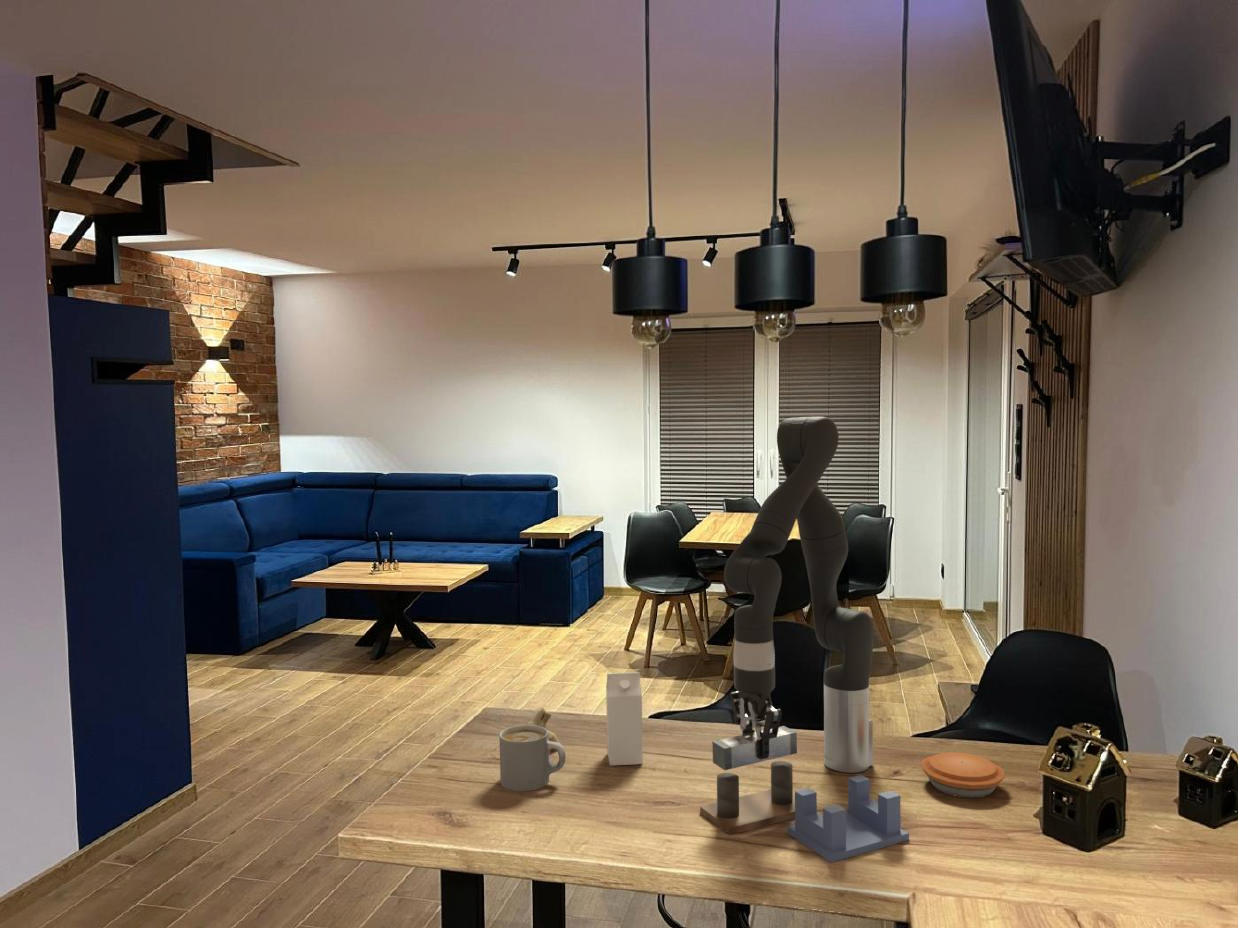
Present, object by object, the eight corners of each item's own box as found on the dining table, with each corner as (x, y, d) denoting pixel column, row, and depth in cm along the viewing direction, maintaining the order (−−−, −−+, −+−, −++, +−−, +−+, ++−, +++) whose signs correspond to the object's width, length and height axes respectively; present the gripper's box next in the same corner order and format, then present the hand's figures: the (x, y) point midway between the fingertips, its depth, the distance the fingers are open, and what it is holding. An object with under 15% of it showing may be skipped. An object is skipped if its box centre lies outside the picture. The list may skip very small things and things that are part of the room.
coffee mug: (491, 787, 177) (490, 738, 176) (513, 768, 186) (512, 722, 186) (552, 796, 172) (551, 746, 172) (572, 776, 182) (571, 729, 181)
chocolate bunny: (525, 747, 199) (524, 703, 198) (560, 745, 200) (559, 702, 199) (525, 756, 193) (524, 711, 193) (561, 754, 194) (560, 709, 194)
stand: (779, 793, 172) (778, 753, 172) (811, 813, 163) (811, 771, 163) (700, 812, 164) (699, 770, 164) (729, 834, 155) (728, 790, 155)
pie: (981, 811, 163) (981, 784, 163) (906, 786, 175) (906, 761, 174) (1018, 786, 173) (1018, 762, 173) (944, 764, 185) (945, 741, 185)
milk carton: (607, 753, 194) (605, 668, 193) (639, 752, 195) (638, 667, 194) (609, 766, 187) (608, 678, 186) (642, 764, 187) (641, 676, 187)
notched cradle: (861, 812, 163) (861, 771, 163) (909, 839, 152) (909, 796, 152) (787, 832, 156) (786, 789, 155) (831, 862, 145) (830, 816, 144)
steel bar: (784, 746, 168) (783, 725, 168) (796, 753, 165) (796, 732, 164) (712, 762, 161) (712, 741, 161) (724, 770, 158) (724, 748, 158)
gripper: (794, 669, 157) (795, 763, 158) (749, 651, 170) (750, 738, 171) (759, 676, 154) (761, 771, 155) (716, 656, 167) (718, 745, 168)
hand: (755, 753), depth 163 cm, fingers closed on steel bar, 4 cm apart
